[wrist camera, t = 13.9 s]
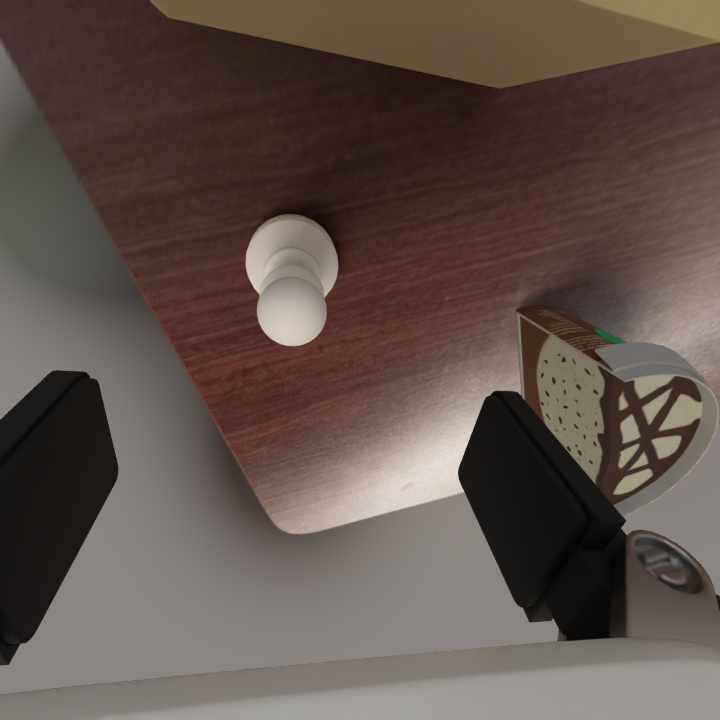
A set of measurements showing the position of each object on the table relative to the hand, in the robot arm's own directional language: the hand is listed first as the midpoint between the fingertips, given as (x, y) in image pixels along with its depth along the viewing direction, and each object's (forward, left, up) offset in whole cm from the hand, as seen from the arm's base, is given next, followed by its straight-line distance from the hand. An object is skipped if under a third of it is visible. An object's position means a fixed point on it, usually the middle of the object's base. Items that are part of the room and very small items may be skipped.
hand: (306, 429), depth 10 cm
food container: (+20, -5, -15) cm, 25 cm away
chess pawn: (0, 0, -15) cm, 15 cm away
